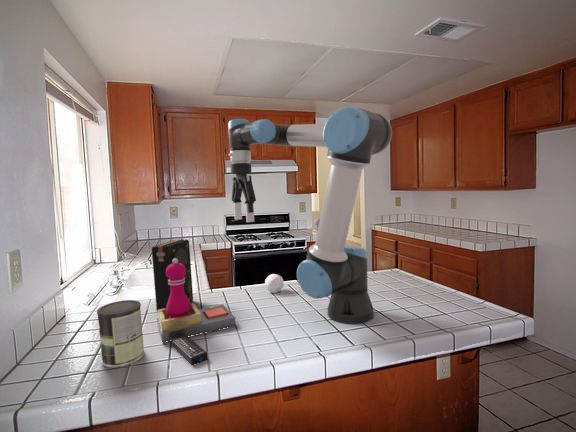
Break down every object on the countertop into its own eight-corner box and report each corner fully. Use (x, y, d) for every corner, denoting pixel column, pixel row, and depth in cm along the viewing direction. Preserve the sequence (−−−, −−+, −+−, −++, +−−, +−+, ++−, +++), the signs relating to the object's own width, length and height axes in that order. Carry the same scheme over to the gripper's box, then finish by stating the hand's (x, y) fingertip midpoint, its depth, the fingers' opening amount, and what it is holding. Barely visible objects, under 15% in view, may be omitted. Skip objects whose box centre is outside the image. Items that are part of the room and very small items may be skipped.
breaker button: (227, 321, 109) (226, 312, 108) (209, 325, 106) (208, 316, 106) (222, 315, 114) (221, 307, 114) (204, 319, 111) (204, 310, 111)
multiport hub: (186, 342, 97) (186, 334, 97) (208, 361, 86) (207, 352, 86) (171, 347, 94) (171, 339, 94) (192, 367, 83) (191, 358, 83)
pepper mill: (169, 327, 100) (164, 262, 98) (165, 319, 106) (161, 258, 105) (193, 322, 103) (189, 258, 102) (188, 314, 110) (184, 255, 108)
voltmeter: (175, 315, 118) (170, 245, 116) (153, 314, 120) (147, 246, 118) (196, 300, 133) (191, 238, 131) (176, 299, 135) (171, 238, 133)
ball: (279, 299, 138) (284, 287, 134) (261, 293, 138) (265, 280, 133) (282, 285, 144) (287, 273, 140) (265, 279, 144) (269, 267, 139)
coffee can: (94, 369, 83) (88, 315, 82) (112, 350, 94) (107, 301, 92) (136, 366, 84) (131, 312, 83) (150, 347, 94) (146, 298, 93)
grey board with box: (235, 326, 106) (234, 308, 105) (162, 343, 96) (160, 323, 96) (223, 312, 118) (222, 296, 118) (157, 326, 109) (156, 308, 108)
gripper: (221, 166, 132) (225, 219, 134) (242, 160, 109) (245, 224, 111) (239, 165, 135) (242, 217, 137) (263, 159, 113) (266, 222, 115)
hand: (244, 220), depth 124 cm, fingers open, 13 cm apart
